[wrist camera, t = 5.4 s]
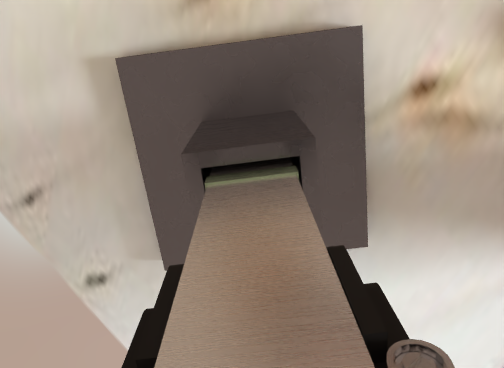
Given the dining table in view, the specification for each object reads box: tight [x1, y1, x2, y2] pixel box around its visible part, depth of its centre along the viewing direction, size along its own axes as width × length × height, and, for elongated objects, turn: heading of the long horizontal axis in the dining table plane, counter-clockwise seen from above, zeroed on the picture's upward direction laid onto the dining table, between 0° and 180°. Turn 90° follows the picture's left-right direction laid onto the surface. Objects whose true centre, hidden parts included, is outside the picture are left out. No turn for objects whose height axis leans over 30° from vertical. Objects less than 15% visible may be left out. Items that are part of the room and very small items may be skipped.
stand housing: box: [115, 25, 368, 270], centre depth 24 cm, size 16×16×10 cm
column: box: [154, 157, 375, 368], centre depth 14 cm, size 4×4×16 cm
